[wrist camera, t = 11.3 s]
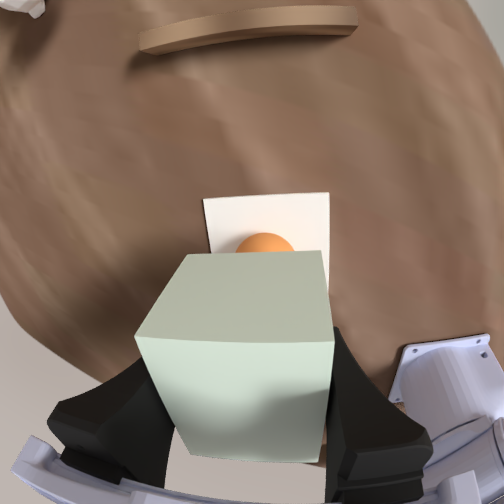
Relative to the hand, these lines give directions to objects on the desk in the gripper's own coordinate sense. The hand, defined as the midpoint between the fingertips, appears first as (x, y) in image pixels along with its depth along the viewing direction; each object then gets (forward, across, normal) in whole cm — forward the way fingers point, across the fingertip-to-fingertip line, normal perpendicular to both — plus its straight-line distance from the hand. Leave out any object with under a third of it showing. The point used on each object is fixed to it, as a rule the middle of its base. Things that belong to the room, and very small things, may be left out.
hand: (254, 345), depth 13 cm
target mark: (+9, 0, 0) cm, 9 cm away
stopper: (+9, 0, -15) cm, 17 cm away
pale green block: (+2, 0, 0) cm, 2 cm away
